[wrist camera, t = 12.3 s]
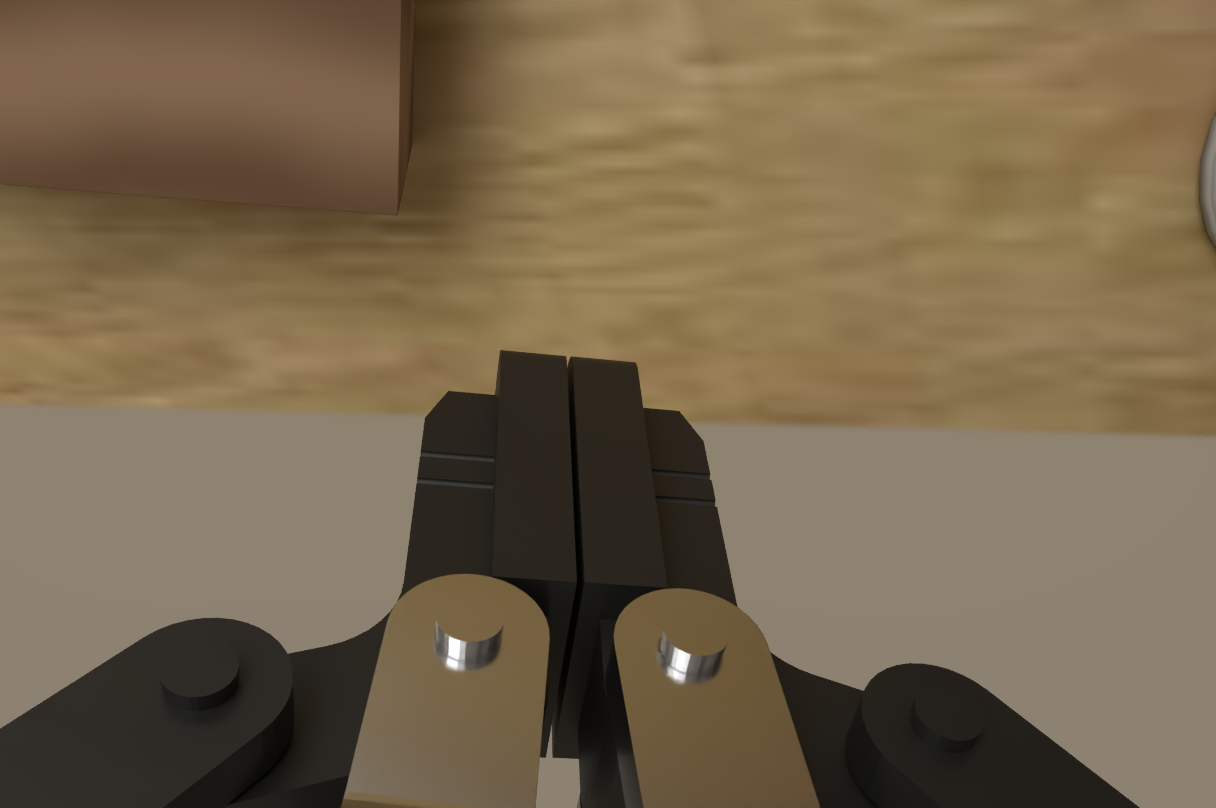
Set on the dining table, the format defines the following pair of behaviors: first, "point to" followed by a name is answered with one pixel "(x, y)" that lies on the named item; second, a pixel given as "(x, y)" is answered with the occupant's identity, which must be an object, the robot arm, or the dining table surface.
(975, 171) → the dining table surface
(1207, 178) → the chalice
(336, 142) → the wooden grain block
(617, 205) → the dining table surface
